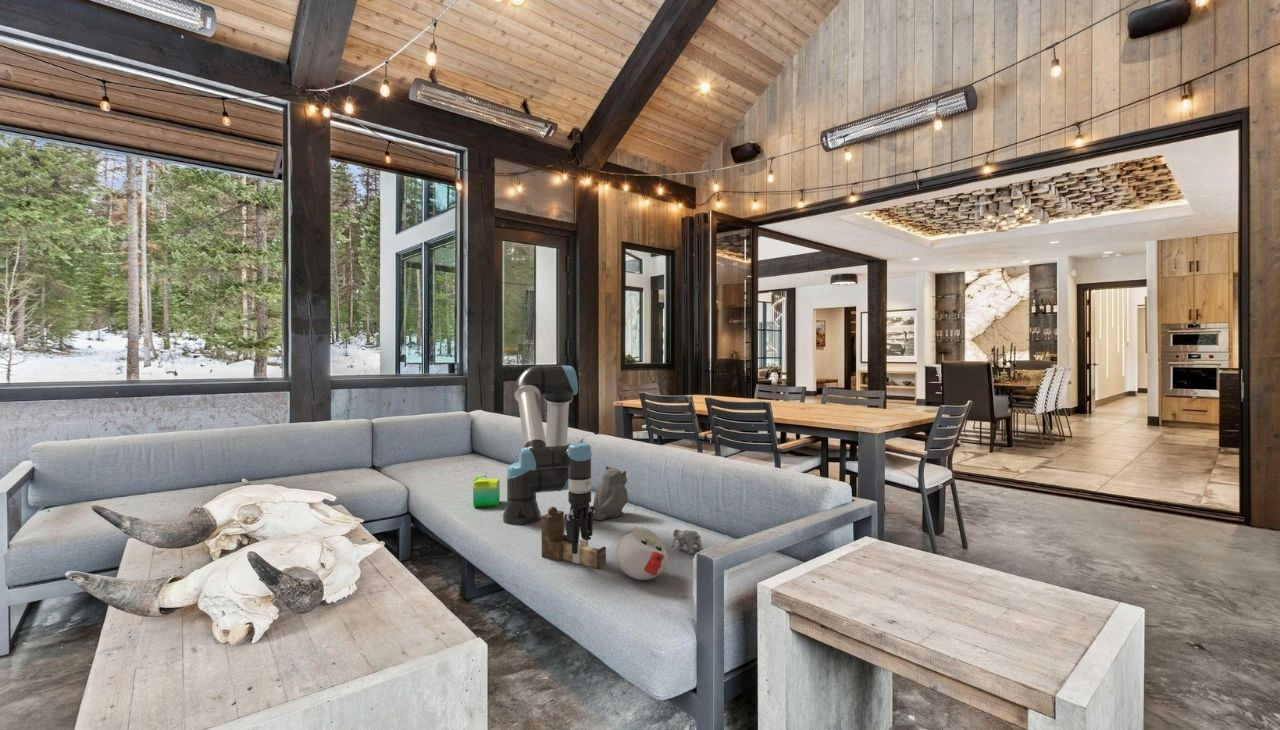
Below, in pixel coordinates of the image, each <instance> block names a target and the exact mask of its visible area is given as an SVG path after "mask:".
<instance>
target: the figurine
mask: <svg viewBox="0 0 1280 730" xmlns="http://www.w3.org/2000/svg"><path fill="white" fill-rule="evenodd" d="M605 469H606V471H605V472H604V473H603V475H602V478H601V482H600V483H599V484H598V486H597V488H596V491H595V494H594V498H593V503H592V506H594V507H595V509H594V513H593V520H596V521H602V522H603V520H605V519H614V518H619V517H622V516H624V515H625V513H624V511H623V508H624V507H625V506H626V505H627V502H628V500H629V495H628V490H627V488H626V484H627V481H628V478H627V471H626V470H620V469H618V468H615V467H611V466H607V465H606V466H605Z"/></svg>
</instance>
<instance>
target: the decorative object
mask: <svg viewBox="0 0 1280 730" xmlns="http://www.w3.org/2000/svg"><path fill="white" fill-rule="evenodd" d="M662 542H663V541H662V540H661V538H659V536H658V535H657V534H656V533H655V532H654V531H653V530H652V529H650V528H647V527H644V526H643V527H642V526H637V527H634V528H631V529H629V530H627V531H626V532H625V533H624V534H623V535H622V536H621V537H620V539H619V541H618V543H617V547H616V553H615V554H616V560H617V563H618V565H619V567H620V568H621V570H622V571H623V572H624V573H625V574H626V575H627V576H629V577H631V578H632V579H635V580H639V581H649V580H652V579H655V578H656V577H658V576H660V574H662V572H663V571H664V570H665V569H666V567H667V564H668V561H669V555H668V553H667V551H666V548H665V546H664V544H663V543H662Z"/></svg>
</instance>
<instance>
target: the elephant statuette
mask: <svg viewBox="0 0 1280 730" xmlns="http://www.w3.org/2000/svg"><path fill="white" fill-rule="evenodd" d="M673 537H674V539H673V541H672V542H671V547H672V548H674V546H675V543H676V541H678V544H677V549H678V550H679V551H682V550H683V547H684V546H686V548H687V554H689V555H693V554H694V549H693V547H694V546H697V550H698V552H700V551H701V550H702V551H703V545H702V541H701V538H702V537H701V535H700V534H699V533H698V531H695V530H689V529H688V530H680V529H679V528H677V529H675V530H674V531H673Z"/></svg>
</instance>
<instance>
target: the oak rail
mask: <svg viewBox="0 0 1280 730" xmlns="http://www.w3.org/2000/svg"><path fill="white" fill-rule="evenodd" d="M555 541H557V542H561V560H565V561H569V562H572V563H573V553H572V544H571V543H567V541H565V537H562V538H559V539H557V540H555ZM579 565H585V566H587V567H592V568H596V570H600V569H601V568H604V567H605V566H607V547H606V546H602V547H600V548H596V547H591V546H589V545H588V546H584V545H580V564H579Z"/></svg>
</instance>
